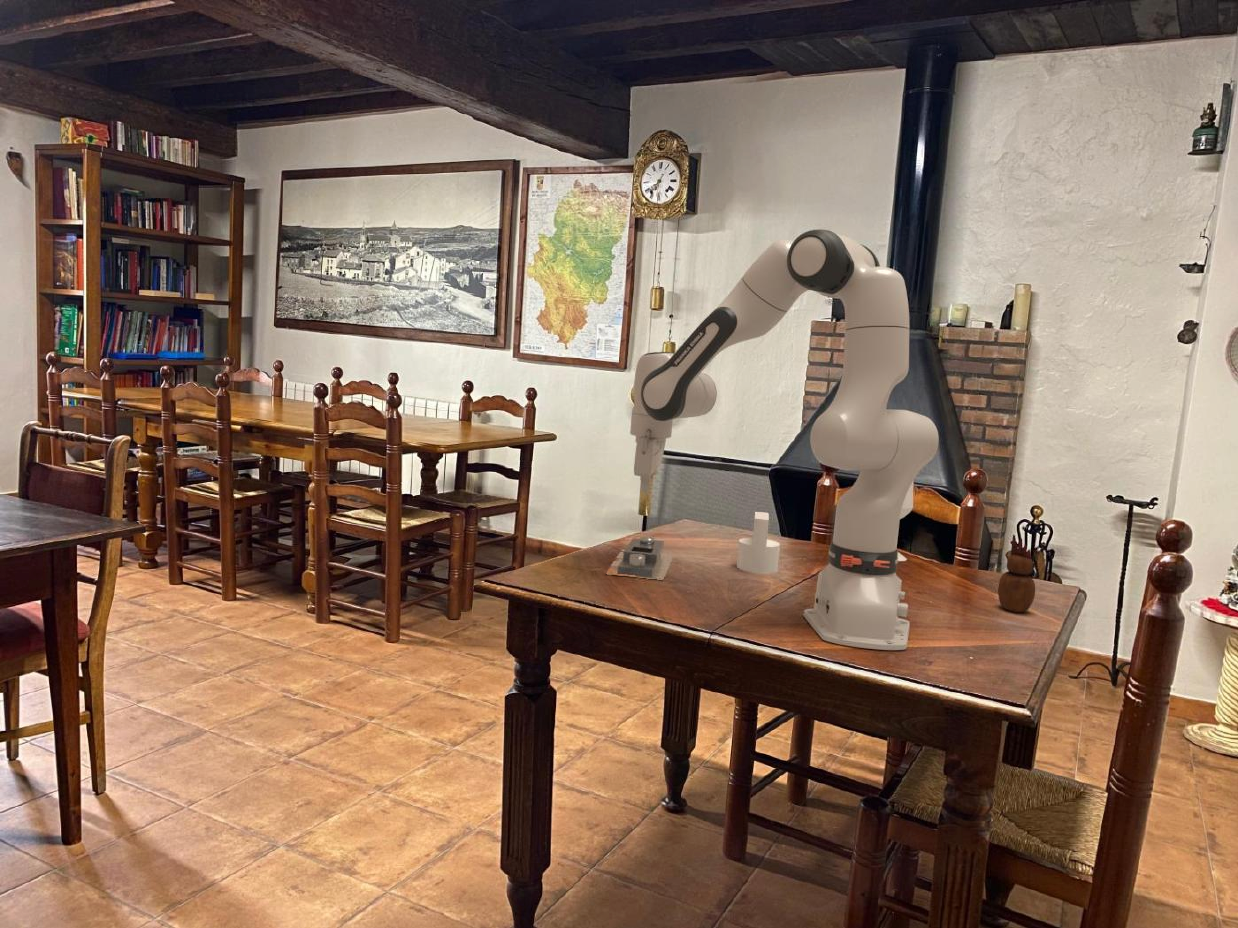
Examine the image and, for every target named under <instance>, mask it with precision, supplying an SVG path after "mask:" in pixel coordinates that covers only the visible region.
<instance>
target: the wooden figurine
mask: <svg viewBox="0 0 1238 928" xmlns="http://www.w3.org/2000/svg"><path fill="white" fill-rule="evenodd" d="M1017 544H1018V545H1017ZM1027 547H1028V546H1027V544H1023V538H1020V539H1019V543H1017V540H1016V534H1013V535H1012V540H1011V547H1010V555H1009V556H1008V558H1007V561H1006V570H1007V571H1005V572H1004V573H1003V574H1002V575H1001V576H1000V578H999V583H998V587H997V591H998V592H997V593H998V600H999V603H1000V606H1001V607H1002V608H1003V609H1005V610H1006V609H1007V611H1008V610H1009V612H1012V611H1013V612H1012V613H1018V612H1020V613H1025V612H1027V611H1029V609H1030V608H1031V606H1032V604H1033V602H1034V598H1035V596H1036V584H1035V581H1034V578H1032V577H1031V576H1030V574H1031V573H1032V571H1033V568H1034V563H1033V562H1034V561H1033V560H1032V559H1033V558H1032V554H1031V549H1028V548H1027Z"/></svg>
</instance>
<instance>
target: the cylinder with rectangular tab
mask: <svg viewBox="0 0 1238 928" xmlns="http://www.w3.org/2000/svg"><path fill="white" fill-rule="evenodd" d="M769 516H770V515H769V512H764V511H755V512H754V519H753V520H754V522H753V530H752V531H753V533H752V537H743V538H740V539H739V540H738V548H737V560H736V568H737V569H738V568H739V569H738V570H740V571H743V572H745V573H751V574H760V575H767V574H769V575H770V574H776V573H778V571H779V558H780V547H781V544H780V542H778V541H776V540H772V539H768V535H769V534H768V533H769V524H770V523H769V521H770V519H769V518H770V517H769Z"/></svg>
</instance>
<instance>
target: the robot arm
mask: <svg viewBox="0 0 1238 928" xmlns="http://www.w3.org/2000/svg"><path fill="white" fill-rule="evenodd" d="M808 291H812V292H815V293H818V294H820V295H821V296H824V297H827V298H831V299H838V300H840V301H841V303H842V305H843V307H844V348H843V350H844V351H843V366H842V367H843V368H842V374H841V375H842V376H841V379H840V383H839V385H838V388H837V391H836V394H835V396H834V397H833V400H832V401H831V403H830V405H829V406H828V407H827V409H826V410H825V411H823V413H821V414H820V415H819V416H818V417H817V418H816V420H815V422H814V423H813V425H812V427H811V430H810V437H809V440H810V441H809V442H810V448H811V451H812V454H813V456H814V457H815V459H816V460H817V461H818V462H819V463H820V464H821V465H824V466H827V467H830V468H834V469H838V470H842V471H859V472H860V473H859V475H858V477H857V479H856V481H855V482H854V483H853V485H852V487H851V488H850V489H848V490H847V491H845V492H844V493H843V494H842V495H841V496H840V497H839V498H838V501H837V503H836V506H835V507H836V508H835V517H834V518H835V519H834V527H833V536H832V541H831V542H830V544H829V548H828V562H829V563H828V564H827V565H826V567H824V568H823V569H822V570H821V571H819V572H818V574H817V575H818V577H817V583H816V590H815V591H816V592H815V596H814V597H815V598H814V606H813V608H806V609H804V610H803V611H804V612H803V617H804V618H805V620H806V621H807V622H808V623H809V625H810V626H811V627H812V628H813V630H814V631H815V632H816V633H817V634H818V635H819V637H820V638H821V639H822V640H823V641H825V642H829V643H833V644H836V645H837V644H838V645H841V646H847V647H853V648H861V649H868V650H869V649H872V650H881V651H904V650H907V647H908V642H909V640H908V639H909V635H910V634H909V633H910V629H911V628H910V627H911V625H910V623H911V621H909V620H907V619H904V618H905V617H907V616H908V609H909V603H907V602H906V603H905V602H900V600H905V598H906V592H905V591H902V579H901V578H900V577H899V576H898V575H897V570H898V563H899V561H898V552H899V551H898V549H897V548H896V542H897V543H898V539H897V534H898V535H899V530H898V527H899V528H900V521H899V520H901V519H900V514H901V509H902V506H903V502H904V500H905V497H906V494H907V492H908V490H909V488H910V486H911V484H912V482H913V480H915V478H916V477H917V476H918V474H919V472H921V470H922V469H923V468H924V467H925V466H926V465H927V464H929V463H930V462H931V461H932V460H933V458H934V457H935V455H936V454H937V451H938V448H939V443H940V442H939V441H940V439H939V438H940V437H939V436H940V435H939V432H938V429H937V426H936V425H935V423H934V421H932V419H931V418H929V417H928V416H926V415H923V414H920V413H917V412H914V411H910V410H907V409H887V406H888V403H889V402H888V401H889V398H890V396H891V393H892V391H893V390H894V388H895V387H896V386H897V385H898V384H900V383H901V382H902V381H904V380H905V378H906V377H907V375H908V373H909V369H910V310H909V309H910V308H909V300H908V293H907V288H906V283H905V279H904V277H903V276H902V274H901V273H900V272H898V271H897V270H895V269H893V268H890V267H887V266H881V265H880V262H879V259H878V257H877V256H876V254H875V253H874V252H873V251H872V250H871V249H870V248H868V247H867V246H866V245H863V244H861V243H860V242H859V243H858V242H857V241H856V240H854V239H853V238H851V237H849V236H847V235H843V234H842V233H841V234H840V233H837V232H834V231H831V230H830V229H822V228H821V229H812V230H811V229H810V230H808V231H805V232H802V233H801V234H800V235H798V236H797V237H796V238H795V239H794V240H791V239H786V238H785V239H778V240H776V241H775V242H773V243H772V244H771V245H770V246H769V247H768V248H767V249H765V250H764V251H763V252H762V253H761V255H759V256H758V257H757V258H756V260H755V261H754V262H753V263H752V264H751V265H750V266H749V267H748V268H747V270H746V272H744V274H743V276H742V277H741V278H740V279H739V281H738V282H737V283H736V284H735V286H734V287H733V289H732V290H731V291H730V292H729V294H727V296H725V298H724V299H723V301H722V302H721V303H720V304H718V306H717V307H716V308H715V309H714V310H713V311H712V312H711V313H710V314H709V315H707V316H706V318H705V319H703V320H702V322H701V323H700V324H699V325H698V326H697V327H696V328H695V329H694V330H693V331H692V333H691V334H690V335H689V337H687V338H686V340H685V341H684V342H683V343H682V344H681V345H680V346H679V348H678V349H677V350H676V351H675V353H672V352H669V351H654V352H647V353H645V354H642V355H641V356H640V357H639V358H638V361H637V364H636V368H635V372H634V373H635V374H634V381H633V390H632V391H633V393H632V394H633V397H634V402H633V403H634V404H633V407H632V408H631V409H632V410H631V416H630V417H631V419H630V430H629V431H630V432H629V433H630V436H634V437H635V440H634V442H635V443H636V446H635V452H634V453H635V455H634V462H633V463H634V464H633V473H634V474H633V475H634V476H636V477H637V476H638V477H639V478H640V484H641V493H645V494H647V493H649V491H650V478H651V475H652V474H653V473H654V471H655V470H656V469H657V470H658V468H659V467H660V466H661V464H662V462H663V459H664V452H665V446H666V441H667V440H666V439H669V438H670V439H671V438H672V432H673V431H672V430H673V420H675V419H684V418H685V419H687V418H697V417H701V416H705V415H706V414H708V413H709V412H710V411H711V410H713V408H714V406H715V404H716V400H717V395H718V392H717V387H716V384H715V382H714V380H713V378H712V377H711V376H709V375H708V374H707V373H704V372H703V371H704V370H705V369H706V368H707V367H708V365H709V364H710V363H711V362H712V361H713V359H714V358H715V357H717V356H718V354H720V353H721V352H722V351H725V350H726V349H727V348H729V347H731V346H734V345H736V344H740V343H741V342H745V341H746V342H747V341H749V340H753V339H757V338H761V337H762V336H764V335H766V334H768V332H770V331H771V330H772V329H774V327H775V326H777V325H778V324H779V323H780V322H781V321H782V319H783V318H784V317H785V316H786V315H787V313H788V312H789V310H790V309H791V308H792V307H793V305H794V304H795V302H796V301H797V300H798V299H799V298H800V297H801V296H802V295H803V294H804V293H805V292H808ZM653 478H655V475H653ZM900 617H903V618H900Z"/></svg>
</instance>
